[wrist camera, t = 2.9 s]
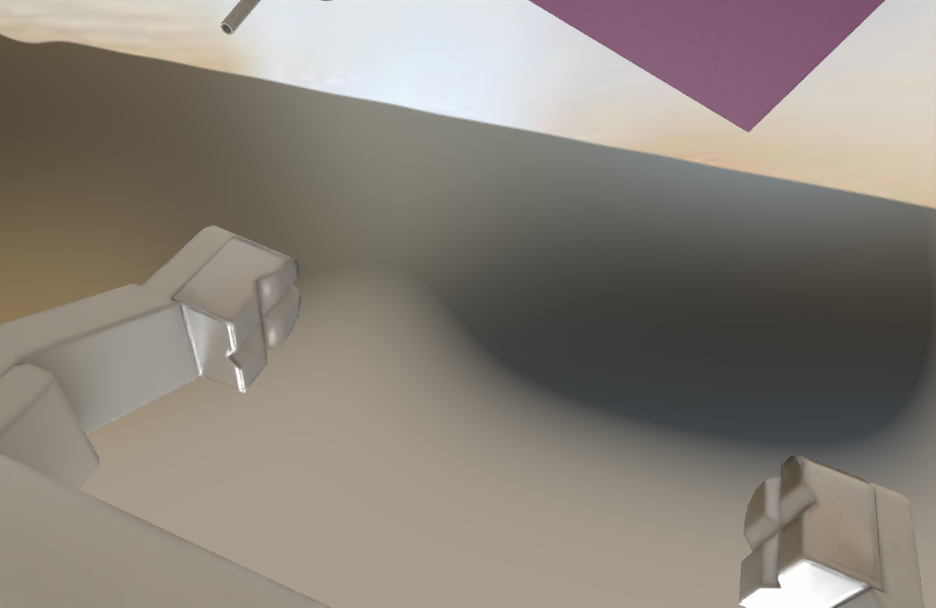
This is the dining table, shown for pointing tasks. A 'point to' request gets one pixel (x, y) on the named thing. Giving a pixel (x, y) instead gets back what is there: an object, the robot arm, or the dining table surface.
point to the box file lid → (720, 44)
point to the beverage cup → (239, 15)
